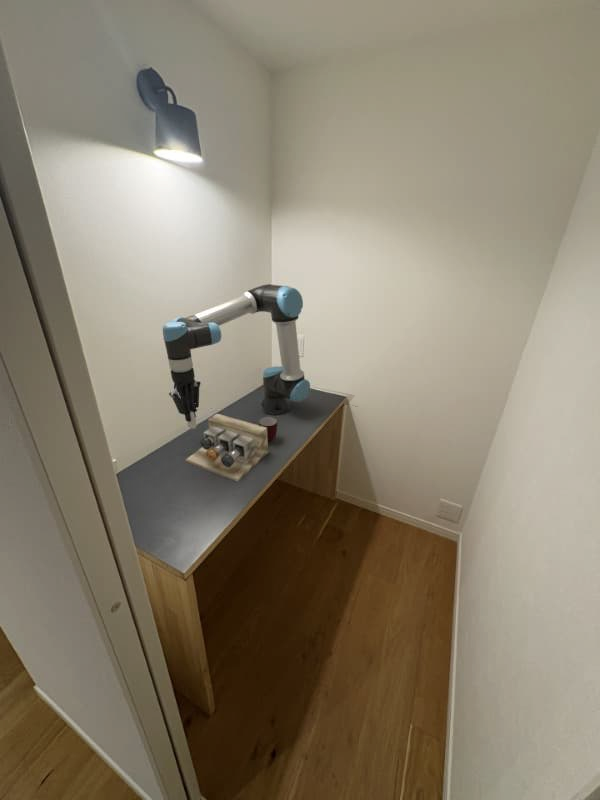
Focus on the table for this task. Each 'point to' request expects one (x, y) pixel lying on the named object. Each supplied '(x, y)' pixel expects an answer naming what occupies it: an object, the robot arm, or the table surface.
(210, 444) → the knob
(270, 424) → the mug
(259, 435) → the mount
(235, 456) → the knob
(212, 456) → the knob middle
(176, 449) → the table surface
